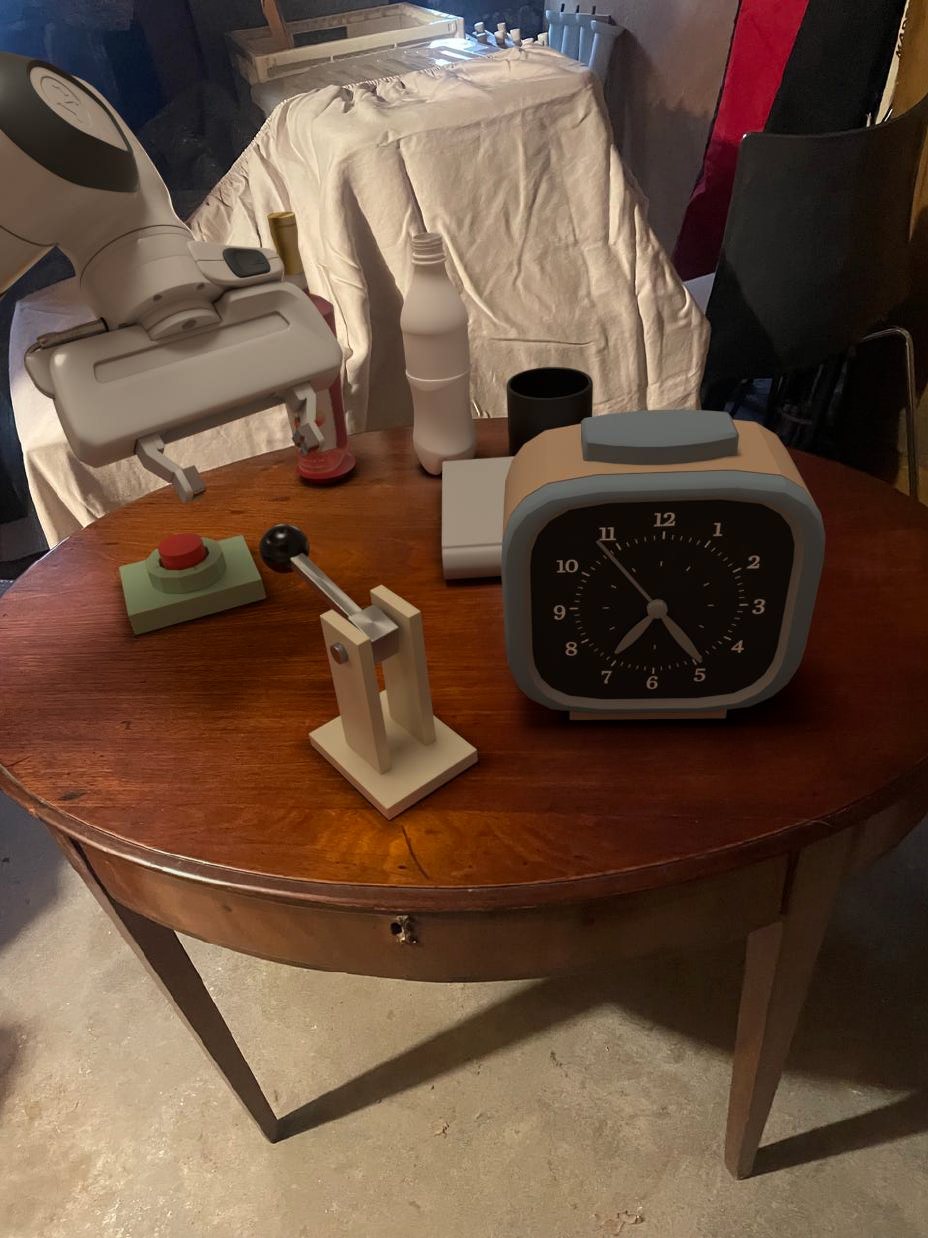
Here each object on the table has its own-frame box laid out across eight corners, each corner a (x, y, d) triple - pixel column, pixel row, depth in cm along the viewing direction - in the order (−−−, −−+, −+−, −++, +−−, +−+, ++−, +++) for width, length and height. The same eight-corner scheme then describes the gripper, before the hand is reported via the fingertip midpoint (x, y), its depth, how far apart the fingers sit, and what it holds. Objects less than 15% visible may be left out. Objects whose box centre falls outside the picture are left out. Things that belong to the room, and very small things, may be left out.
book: (442, 461, 94) (667, 445, 93) (445, 492, 96) (665, 477, 95) (441, 552, 79) (709, 534, 78) (445, 587, 81) (704, 570, 81)
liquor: (370, 465, 103) (333, 207, 86) (336, 494, 97) (290, 225, 81) (318, 456, 105) (272, 204, 89) (283, 484, 100) (227, 222, 84)
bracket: (310, 745, 66) (277, 607, 58) (396, 695, 70) (375, 559, 62) (389, 820, 59) (363, 677, 52) (478, 761, 63) (466, 619, 56)
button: (166, 576, 79) (160, 560, 78) (160, 555, 82) (155, 539, 81) (210, 564, 80) (205, 548, 79) (202, 544, 83) (198, 528, 82)
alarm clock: (509, 730, 66) (495, 469, 53) (511, 650, 73) (499, 405, 60) (792, 727, 64) (849, 457, 51) (763, 645, 71) (807, 392, 58)
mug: (549, 425, 108) (549, 353, 103) (608, 461, 99) (610, 384, 94) (483, 446, 105) (479, 372, 99) (537, 484, 96) (536, 406, 91)
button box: (135, 635, 79) (122, 599, 76) (125, 585, 85) (113, 550, 83) (266, 598, 82) (257, 562, 79) (247, 553, 89) (238, 518, 86)
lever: (252, 564, 65) (246, 526, 62) (294, 545, 67) (290, 507, 64) (364, 678, 58) (362, 640, 55) (407, 653, 59) (408, 616, 57)
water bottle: (409, 458, 103) (383, 233, 88) (467, 447, 105) (451, 223, 90) (425, 485, 98) (400, 249, 83) (486, 472, 99) (472, 238, 84)
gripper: (8, 315, 54) (117, 509, 53) (295, 244, 64) (388, 407, 63) (13, 368, 59) (111, 544, 59) (276, 295, 69) (362, 446, 69)
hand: (257, 473), depth 61 cm, fingers open, 8 cm apart
